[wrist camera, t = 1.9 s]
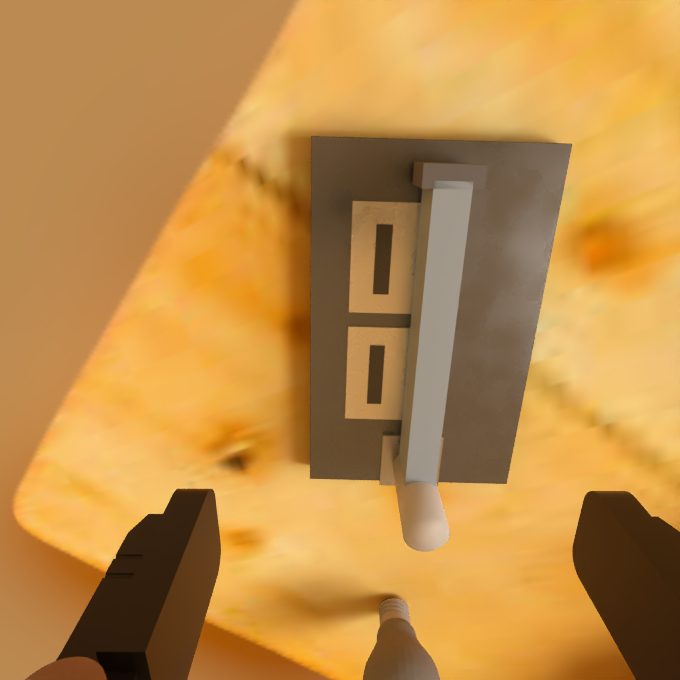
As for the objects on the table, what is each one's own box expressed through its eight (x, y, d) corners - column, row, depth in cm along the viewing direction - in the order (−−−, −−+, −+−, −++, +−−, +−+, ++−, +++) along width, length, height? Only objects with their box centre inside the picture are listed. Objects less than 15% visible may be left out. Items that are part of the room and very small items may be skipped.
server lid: (312, 136, 29) (310, 136, 27) (560, 144, 29) (574, 143, 27) (311, 467, 38) (309, 483, 36) (499, 472, 38) (507, 488, 36)
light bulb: (414, 572, 42) (434, 693, 32) (433, 617, 44) (457, 743, 34) (350, 589, 42) (352, 711, 33) (372, 632, 45) (379, 759, 35)
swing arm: (431, 482, 35) (450, 552, 29) (388, 481, 35) (398, 550, 29) (470, 163, 27) (507, 167, 21) (414, 161, 27) (434, 165, 21)
